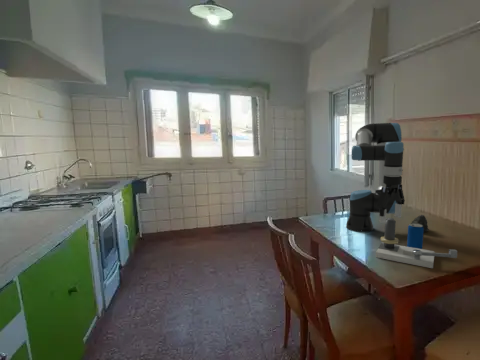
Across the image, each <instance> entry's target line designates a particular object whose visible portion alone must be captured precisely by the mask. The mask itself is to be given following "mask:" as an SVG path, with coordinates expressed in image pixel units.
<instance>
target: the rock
mask: <svg viewBox="0 0 480 360" xmlns="http://www.w3.org/2000/svg"><path fill="white" fill-rule="evenodd" d="M411 223H415V224H421V225H423V228H424V230H423V233H427V232H428V231H429V230H430V229H429V226H428V225H429V224H428V220H427V218H426V216H425V214H420V215H418V216H417V217H415V218H414V219H413V220H412V221H411Z"/></svg>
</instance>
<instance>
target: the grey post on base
mask: <svg viewBox="0 0 480 360" xmlns="http://www.w3.org/2000/svg"><path fill="white" fill-rule="evenodd" d="M380 242H381V243H384V247H385V248H389V249H393V248H394V245H398V244H399V238H398V237H396V220H395V219H394V218H392V217H386V223H384V236H381V237H380Z"/></svg>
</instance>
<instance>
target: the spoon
mask: <svg viewBox="0 0 480 360" xmlns="http://www.w3.org/2000/svg"><path fill="white" fill-rule="evenodd" d="M413 255H415V256H422V255H424V256H434V257H439V258H440V257H441V258H451V259H452V258H453V259H457V258H458V250H457V249H453V248H452V249H448V253H444V252H435V253H432V252H422V251H420V250H413Z"/></svg>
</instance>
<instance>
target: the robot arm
mask: <svg viewBox="0 0 480 360" xmlns="http://www.w3.org/2000/svg"><path fill="white" fill-rule="evenodd" d="M354 136H355V141H356V144H355V145H353V146H352V147H351V160H353V161H359V162H360V161H371V162H372V161H377V162H378V185H377V186H378V187H376V189H375V191H374V192H372V190H370V189H360V190H353V191H351V193H350V198H349V201H350V203H349V216H348V218H347V220H346V221H347V222H346V229H348V230H350V231H353V232H359V233H360V232H361V233H362V232H363V233H366V232H372V231H373V230H374V224H373V220H372V218H371V213H375V214H379V218H378V220H379V221H378V222H379V223H381V224H385V223H386V219H387V215H389V214H390V215H391V214H394V217H395V218H398V219H401V218H402V210H403V209H402V207H403V205H405V201H406V200H405V195H404V190H403V184H402V183H403V182H402V180H403V177H402V176H403V170H404V169H403V160H404V150H405V149H404V148H405V147H404V145H405V144H404V142H402V129H401V125H400V124H399V123H398V122H379V123H368V124H365V125H363V126H361V127H360V128H358V130H357V131H356V132H355V135H354ZM372 143H375V144H376V145H375V144H374V145H372Z"/></svg>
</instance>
